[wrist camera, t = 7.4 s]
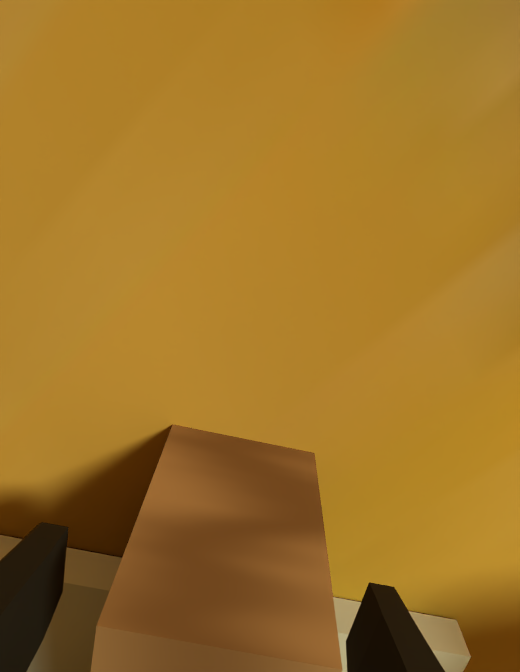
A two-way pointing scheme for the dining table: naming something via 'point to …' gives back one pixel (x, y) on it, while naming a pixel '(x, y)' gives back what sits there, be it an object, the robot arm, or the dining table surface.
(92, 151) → the dining table surface
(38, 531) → the robot arm
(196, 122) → the dining table surface
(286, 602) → the walnut block
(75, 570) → the chassis
